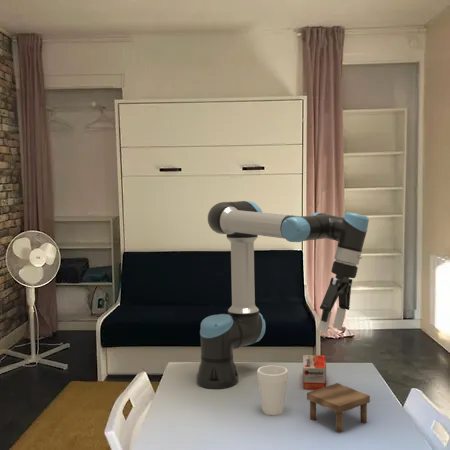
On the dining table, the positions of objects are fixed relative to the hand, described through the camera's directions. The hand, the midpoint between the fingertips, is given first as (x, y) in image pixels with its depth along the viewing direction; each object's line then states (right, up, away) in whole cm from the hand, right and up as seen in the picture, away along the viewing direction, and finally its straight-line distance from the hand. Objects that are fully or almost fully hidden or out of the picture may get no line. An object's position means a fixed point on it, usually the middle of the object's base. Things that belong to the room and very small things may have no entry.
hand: (329, 330), depth 166 cm
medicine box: (0, -24, +27) cm, 36 cm away
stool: (+2, -26, -5) cm, 26 cm away
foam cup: (-17, -26, +3) cm, 31 cm away
